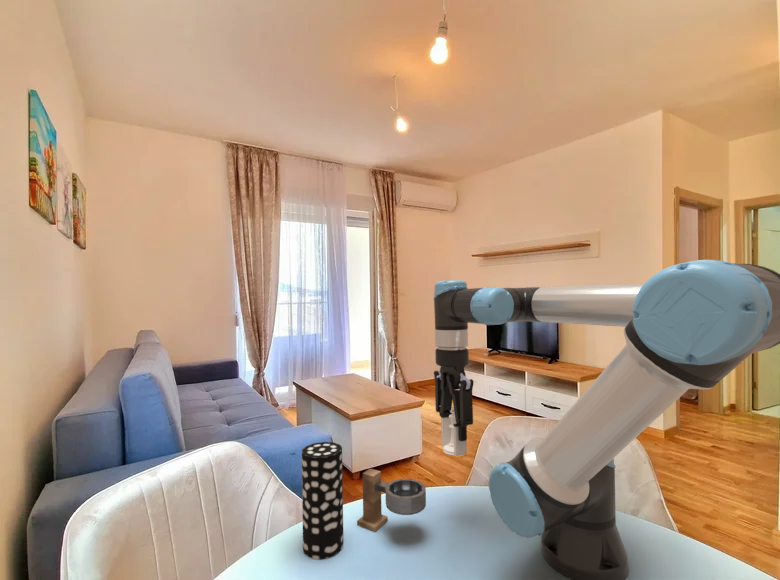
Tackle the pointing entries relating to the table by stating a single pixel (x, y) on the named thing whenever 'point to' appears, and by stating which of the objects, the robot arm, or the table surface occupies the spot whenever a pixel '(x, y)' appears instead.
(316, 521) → the white-spotted black cylinder
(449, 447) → the chess piece
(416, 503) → the cup bracket
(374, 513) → the walnut post
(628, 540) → the table surface
